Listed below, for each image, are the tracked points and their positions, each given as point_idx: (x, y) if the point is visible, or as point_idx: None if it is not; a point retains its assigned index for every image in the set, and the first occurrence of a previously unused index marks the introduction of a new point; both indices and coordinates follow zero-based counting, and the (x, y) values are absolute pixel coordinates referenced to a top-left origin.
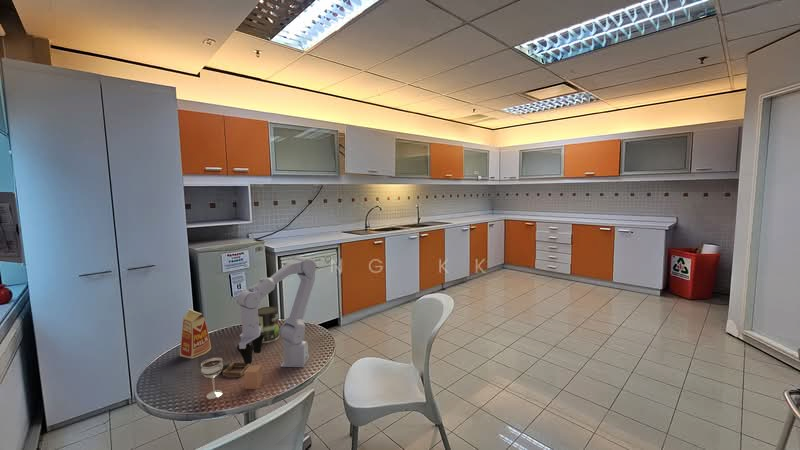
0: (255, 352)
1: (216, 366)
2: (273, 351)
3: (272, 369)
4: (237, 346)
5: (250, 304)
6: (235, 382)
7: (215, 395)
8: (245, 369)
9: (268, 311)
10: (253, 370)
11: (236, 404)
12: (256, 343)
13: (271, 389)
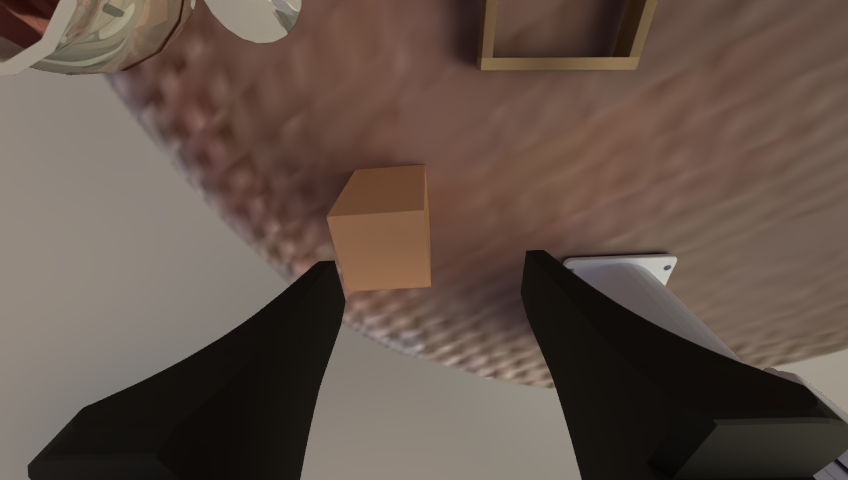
0: (526, 265)
1: None
2: (816, 132)
3: (548, 226)
4: (58, 463)
5: None
6: (409, 62)
7: (229, 8)
8: (543, 69)
9: None
10: (359, 269)
11: (228, 195)
12: (569, 358)
13: None
